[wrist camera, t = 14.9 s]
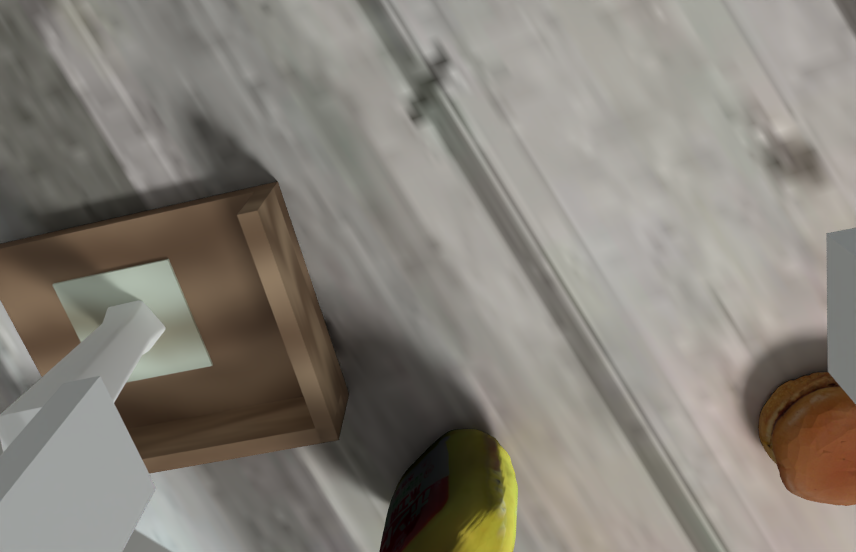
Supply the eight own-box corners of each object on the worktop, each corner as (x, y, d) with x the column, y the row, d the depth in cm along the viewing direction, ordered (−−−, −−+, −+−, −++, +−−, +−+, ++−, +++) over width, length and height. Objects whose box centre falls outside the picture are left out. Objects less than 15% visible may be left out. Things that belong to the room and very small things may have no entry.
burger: (732, 403, 51) (758, 446, 47) (862, 338, 49) (901, 376, 44) (790, 494, 54) (819, 541, 50) (914, 437, 52) (955, 481, 48)
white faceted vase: (84, 316, 48) (-62, 467, 34) (134, 284, 47) (4, 428, 33) (131, 367, 50) (10, 531, 36) (180, 338, 48) (74, 495, 35)
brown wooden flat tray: (-14, 246, 48) (-65, 281, 43) (277, 181, 45) (257, 210, 40) (89, 441, 54) (55, 490, 49) (349, 393, 52) (338, 440, 47)
